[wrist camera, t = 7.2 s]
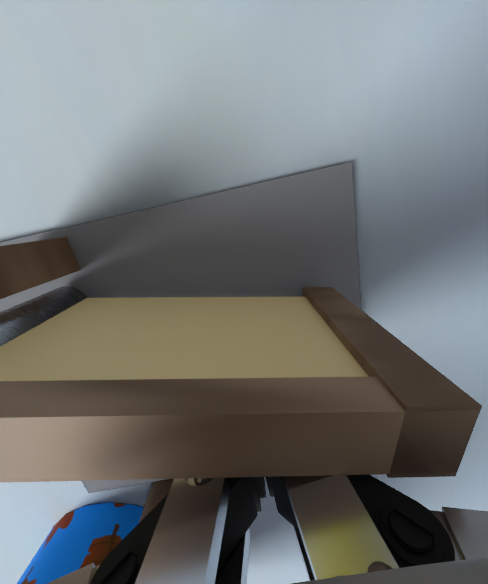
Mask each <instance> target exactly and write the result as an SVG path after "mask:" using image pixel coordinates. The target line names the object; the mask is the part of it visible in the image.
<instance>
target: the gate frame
mask: <svg viewBox="0 0 488 584" xmlns="http://www.w3.org/2000/svg"><path fill="white" fill-rule="evenodd" d="M63 286H69V287H73V288H76V289H78V290H80V291H81V292H83V293H84V294H85V295H86V296H87V297H88V298H146V297H302V292H303V287H333V288H334V289H335V290H336V291H338V292H339V293H340V294H341V295H343V296H344V297H345V298H346V299H348V300H349V301H350V302H352V303H353V304H354V305H355V306H357V307H358V308H359V309H360V310H362V309H361V294H360V279H359V264H358V249H357V234H356V219H355V203H354V188H353V173H352V162H348V163H344V164H339V165H335V166H331V167H326V168H322V169H318V170H313V171H309V172H305V173H300V174H296V175H291V176H287V177H283V178H278V179H274V180H270V181H265V182H261V183H257V184H252V185H248V186H244V187H239V188H235V189H231V190H226V191H222V192H218V193H213V194H209V195H204V196H200V197H196V198H191V199H187V200H183V201H178V202H174V203H170V204H165V205H161V206H157V207H152V208H148V209H144V210H139V211H135V212H130V213H126V214H122V215H117V216H113V217H109V218H104V219H100V220H96V221H91V222H87V223H83V224H78V225H74V226H70V227H65V228H61V229H57V230H52V231H48V232H43V233H39V234H35V235H30V236H26V237H22V238H17V239H13V240H9V241H4V242H0V312H1V311H3V310H6V309H8V308H10V307H13V306H15V305H18V304H20V303H23V302H25V301H27V300H30V299H32V298H35V297H37V296H39V295H42V294H44V293H47V292H49V291H51V290H54V289H56V288H59V287H63ZM173 481H174V479H133V480H86V481H82V483H83V484H84V486H85V488H86V489H87V491H88V493H93V492H99V491H104V490H110V489H116V488H121V487H127V486H132V485H138V484H144V483H149V482H152V483H151V486H150V490H149V493H148V496H147V499H146V502H145V505H144V508H143V511H142V514H141V518H140V521H139V523H140V522H141V521H142V519H143V518H144V517H145V516H146V515H147V514H148V513H149V512H150V511H151V510H152V509H153V508H154V507H155V506H156V505H157V504H158V503H159V502H160V501H161V500H162V499H163V498H164V497H165V496H166V495H167V494H168V493H169V491H170V489H171V486H172V484H173Z"/></svg>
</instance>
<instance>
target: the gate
mask: <svg viewBox="0 0 488 584" xmlns="http://www.w3.org/2000/svg"><path fill="white" fill-rule="evenodd" d="M481 407H482V406H481V405H480V404H479V403H478V402H476V401H475V400H474V399H473V398H471V397H470V396H469V395H468V394H466V393H465V392H464V391H463V390H461V389H460V388H459V387H457V386H456V385H455V384H454V383H452V382H451V381H450V380H449V379H447V378H446V377H445V376H444V375H442V374H441V373H440V372H439V371H437V370H436V369H435V368H434V367H432V366H431V365H430V364H428V363H427V362H426V361H425V360H423V359H422V358H421V357H420V356H418V355H417V354H416V353H415V352H413V351H412V350H411V349H410V348H408V347H407V346H406V345H404V344H403V343H402V342H401V341H399V340H398V339H397V338H396V337H394V336H393V335H392V334H391V333H389V332H388V331H387V330H386V329H384V328H383V327H382V326H381V325H379V324H378V323H377V322H375V321H374V320H373V319H372V318H370V317H369V316H368V315H367V314H365V313H364V312H363V311H362V310H360V309H359V308H358V307H357V306H355V305H354V304H353V303H352V302H350V301H349V300H348V299H346V298H345V297H344V296H343V295H341V294H340V293H339V292H338V291H336V290H335V289H334V288H333V287H303V292H302V297H146V298H88V297H87V296H86V295H85V294H84V293H83V292H81V291H80V290H78V289H76V288H73V287H69V286H63V287H59V288H56V289H54V290H51V291H49V292H47V293H44V294H42V295H39V296H37V297H35V298H32V299H30V300H27V301H25V302H23V303H20V304H18V305H15V306H13V307H10V308H8V309H6V310H3V311H1V312H0V482H38V481H86V480H133V479H180V478H228V477H275V476H323V475H338V474H344V473H345V474H346V475H370V474H387V476H388V478H393V477H439V476H456V473H457V470H458V468H459V465H460V462H461V460H462V457H463V455H464V452H465V449H466V447H467V444H468V441H469V439H470V436H471V433H472V431H473V428H474V426H475V423H476V420H477V418H478V415H479V412H480V410H481Z"/></svg>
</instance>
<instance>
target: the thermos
mask: <svg viewBox="0 0 488 584" xmlns="http://www.w3.org/2000/svg"><path fill="white" fill-rule="evenodd" d="M142 511H143V507H140V506H137V505H130V504H121V503H112V502H109V503H102V504H94V505H86V506H83V507H81V508H79V509H76V510H74V511H72V512H70V513H67V514H65V515H64V516H63V518H62V519H61V520H60V521H59V522H58V523H57V524H56V525H55V526H54V527H53V528H52V530H51V531H50V533H49V535H48V536H47V538H46V539H45V541H44V542H43V544H42V545H41V547H40V548H39V550H38V552H37V553H36V555H35V556H34V558H33V559H32V561H31V562H30V564H29V566H28V567H27V569H26V570H25V572H24V573H23V575H22V576H21V578H20V580H19V581H18V583H17V584H47V583H49V582H51V581H54V580H56V579H58V578H60V577H62V576H65V575H67V574H69V573H71V572H74V571H76V570H78V569H80V568H82V567H85V566H87V565H89V564H91V563H94V564H95V566H98V565H100V564H101V563H102V562H103V560H104V559H105V558H106V557H107V556H108V554H109V553H110V552H111V551H112V550H113V549H114V548H115V547H116V546H117V545H118V544H119V543H120V542H121V541H122V540H123V539H124V538H125V537H126V536H127V535H128V534H129V533H130V532H131V531H132V530H133V529H134V528H135V527H136V526H137V525H138V524H139V521H140V518H141V514H142Z"/></svg>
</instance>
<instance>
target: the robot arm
mask: <svg viewBox="0 0 488 584" xmlns="http://www.w3.org/2000/svg"><path fill="white" fill-rule="evenodd" d="M266 481H267V485H268V489H269V493H270V496H274V497H275V501H276V505H277V509H278V512H279V513H280V514H281V515H282V516H283V517H284V518H285V519H287V520H288V521H289V522H290V523H291V524H292V525H293V528H294V532H295V535H296V539H297V542H298V545H299V549H300V552H301V555H302V559H303V562H304V565H305V569H306V572H307V575H308V579H309V581H306V582H299V583H293V584H488V512H487V511H477V510H468V509H458V508H448V507H442V512H440V511H431V510H428V509H427V508H426V507H424V506H423V505H421V504H420V503H418V502H417V501H415V500H413V499H411V498H410V497H408V496H406V495H404V494H403V493H401V492H399V491H397V490H395V489H394V488H392V487H390V486H388V485H387V484H385V483H383V482H381V481H380V480H378V479H376V478H374V477H372V476H371V475H346V474H345V473H344V474H338V475H323V476H275V477H266ZM265 497H266V491H265V480H264V477H228V478H180V479H174V481H173V484H172V486H171V489H170V491H169V493H168V494H167V495H166V496H165V497H164V498H163V499H162V500H161V501H160V502H159V503H158V504H157V505H156V506H155V507H154V508H153V509H152V510H151V511H150V512H149V513H148V514H147V515H146V516H145V517H144V518H143V519H142V521H141V522H140V523H139V524H138V525H137V526H136V527H135V528H134V529H133V530H132V531H131V532H130V533H129V534H128V535H127V536H126V537H125V538H124V539H123V540H122V541H121V542H120V543H119V544H118V545H117V546H116V547H115V548H114V549H113V550H112V551H111V552H110V553H109V554H108V556H107V557H106V558H105V559H104V560H103V562H102V563H101V564H100V565H98V566H95V564H94V563H91V564H89V565H87V566H85V567H82V568H80V569H78V570H76V571H74V572H71V573H69V574H67V575H65V576H62V577H60V578H58V579H56V580H54V581H51V582H49V583H47V584H247V571H248V559H249V547H250V525H251V524H252V523H253V521H254V520H255V518H256V517H257V512H259V511H261V502H260V498H265Z"/></svg>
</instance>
